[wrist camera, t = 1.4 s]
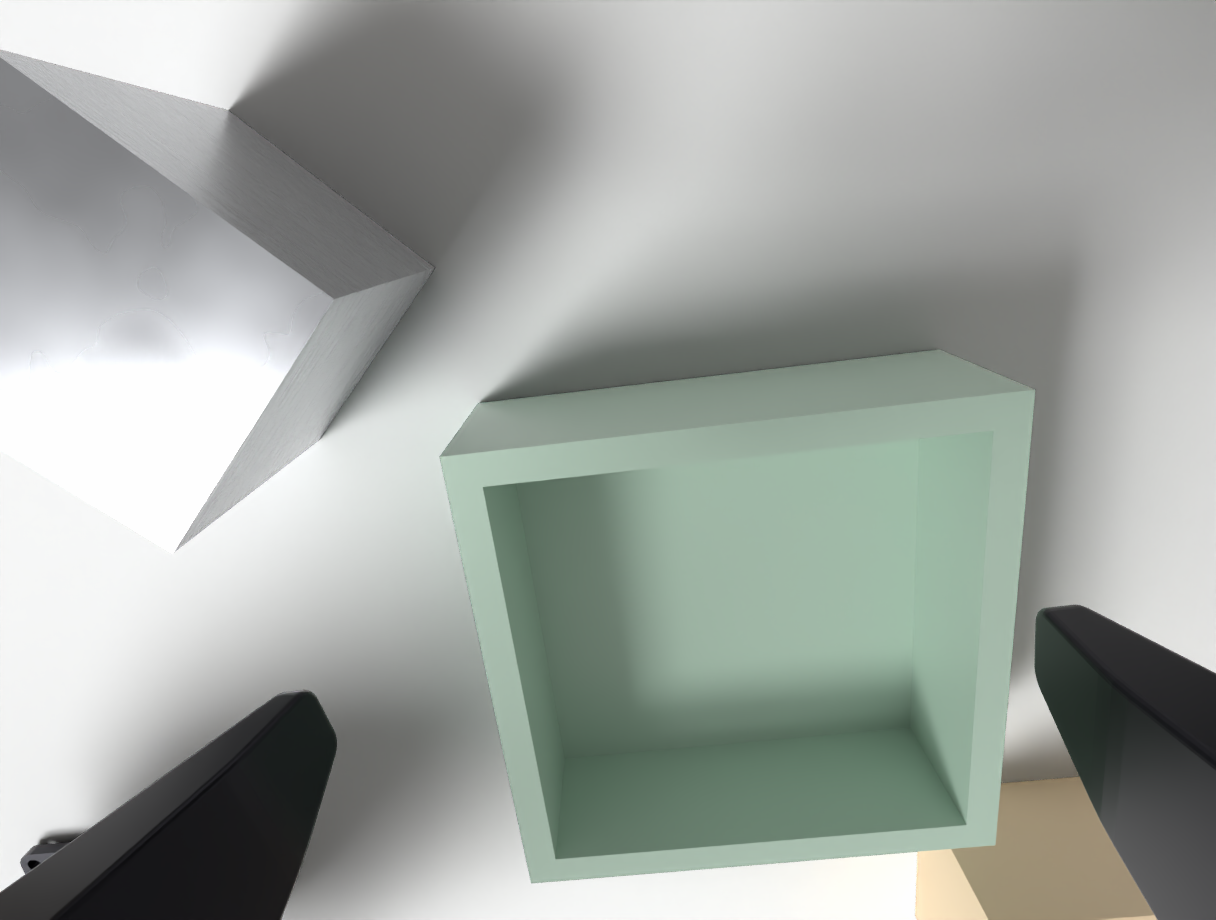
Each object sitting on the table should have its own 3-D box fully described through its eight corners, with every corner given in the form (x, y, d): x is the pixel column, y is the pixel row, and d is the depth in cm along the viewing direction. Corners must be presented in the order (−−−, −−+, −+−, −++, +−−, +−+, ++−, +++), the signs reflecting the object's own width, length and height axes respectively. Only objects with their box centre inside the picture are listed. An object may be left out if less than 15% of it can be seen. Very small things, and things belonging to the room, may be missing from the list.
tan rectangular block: (913, 911, 26) (979, 1066, 21) (917, 786, 24) (992, 927, 19) (1119, 895, 26) (1234, 1050, 21) (1142, 767, 24) (1273, 906, 19)
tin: (319, 439, 20) (172, 553, 13) (123, 307, 18) (-148, 359, 12) (435, 267, 18) (334, 299, 12) (229, 110, 17) (-16, 44, 10)
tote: (546, 762, 23) (531, 883, 19) (478, 403, 19) (439, 456, 15) (924, 727, 23) (995, 845, 19) (939, 349, 19) (1035, 389, 14)
